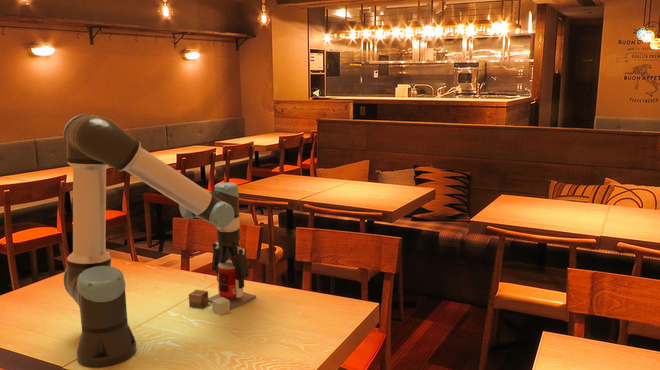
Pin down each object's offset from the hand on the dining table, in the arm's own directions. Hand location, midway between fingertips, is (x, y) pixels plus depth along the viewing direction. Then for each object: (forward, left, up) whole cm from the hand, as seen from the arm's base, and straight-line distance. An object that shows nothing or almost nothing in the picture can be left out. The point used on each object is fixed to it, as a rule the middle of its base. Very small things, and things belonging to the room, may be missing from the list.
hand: (230, 293), depth 190 cm
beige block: (-9, -5, -2) cm, 10 cm away
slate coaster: (0, 0, -2) cm, 2 cm away
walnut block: (-9, +5, -2) cm, 11 cm away
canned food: (0, 0, 0) cm, 0 cm away
